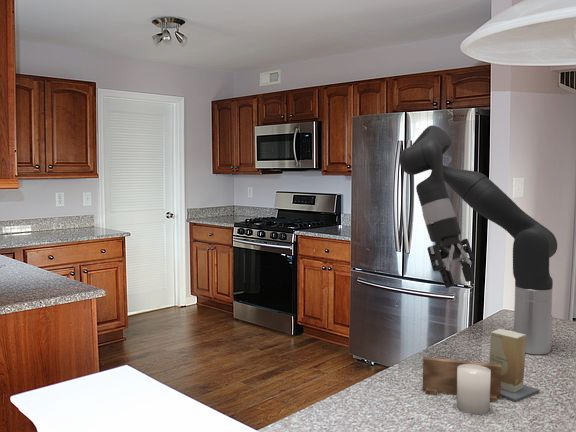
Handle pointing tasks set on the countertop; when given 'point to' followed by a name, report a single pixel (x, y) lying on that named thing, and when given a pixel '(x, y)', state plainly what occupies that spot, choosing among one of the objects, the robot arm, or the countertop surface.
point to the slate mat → (519, 393)
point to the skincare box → (509, 357)
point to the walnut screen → (455, 376)
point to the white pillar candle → (473, 389)
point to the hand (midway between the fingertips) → (460, 284)
